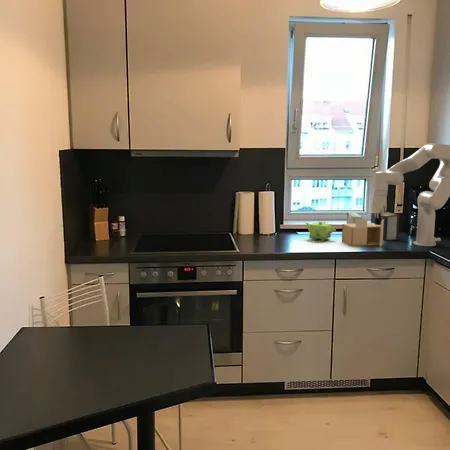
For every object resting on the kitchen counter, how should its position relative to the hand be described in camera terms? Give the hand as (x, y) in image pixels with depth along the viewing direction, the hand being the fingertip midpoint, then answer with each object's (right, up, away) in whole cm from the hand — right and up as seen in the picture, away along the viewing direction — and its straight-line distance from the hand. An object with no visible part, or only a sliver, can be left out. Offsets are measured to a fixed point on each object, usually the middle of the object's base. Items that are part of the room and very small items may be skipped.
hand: (377, 224), depth 307 cm
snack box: (-8, -8, +27) cm, 29 cm away
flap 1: (-10, -12, +2) cm, 16 cm away
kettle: (-30, -9, +20) cm, 38 cm away
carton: (-7, -11, +10) cm, 16 cm away
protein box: (+11, -8, +27) cm, 31 cm away
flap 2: (+2, -12, +1) cm, 12 cm away
